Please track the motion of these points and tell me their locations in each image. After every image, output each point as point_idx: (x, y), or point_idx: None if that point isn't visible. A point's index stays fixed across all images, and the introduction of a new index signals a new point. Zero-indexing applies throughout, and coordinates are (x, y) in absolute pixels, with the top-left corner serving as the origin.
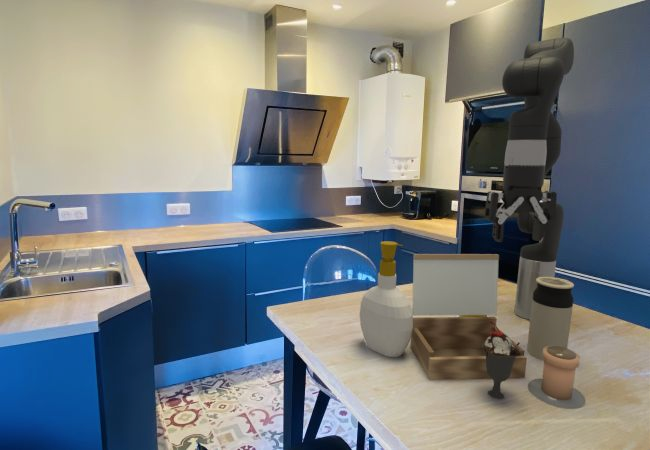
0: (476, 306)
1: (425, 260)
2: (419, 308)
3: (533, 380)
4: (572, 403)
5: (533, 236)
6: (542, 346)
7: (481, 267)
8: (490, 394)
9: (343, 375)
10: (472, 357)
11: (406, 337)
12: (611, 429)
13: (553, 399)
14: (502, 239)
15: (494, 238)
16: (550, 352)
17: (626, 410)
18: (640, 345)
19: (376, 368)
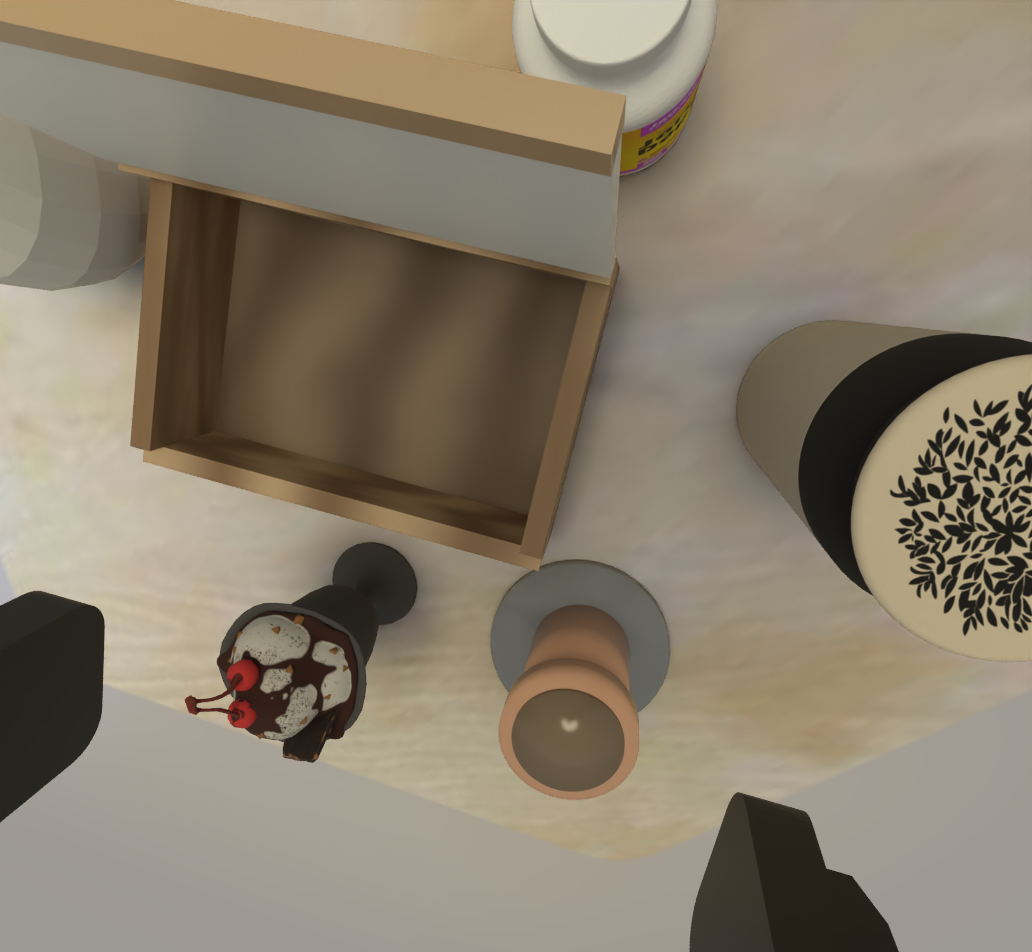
0: (466, 236)
1: None
2: (108, 153)
3: (560, 571)
4: None
5: (739, 848)
6: (757, 460)
7: (420, 154)
8: (350, 584)
9: None
10: (312, 498)
11: (82, 285)
12: (596, 804)
13: None
14: (59, 767)
15: (31, 600)
16: (516, 730)
17: (739, 770)
18: None
19: (51, 295)
